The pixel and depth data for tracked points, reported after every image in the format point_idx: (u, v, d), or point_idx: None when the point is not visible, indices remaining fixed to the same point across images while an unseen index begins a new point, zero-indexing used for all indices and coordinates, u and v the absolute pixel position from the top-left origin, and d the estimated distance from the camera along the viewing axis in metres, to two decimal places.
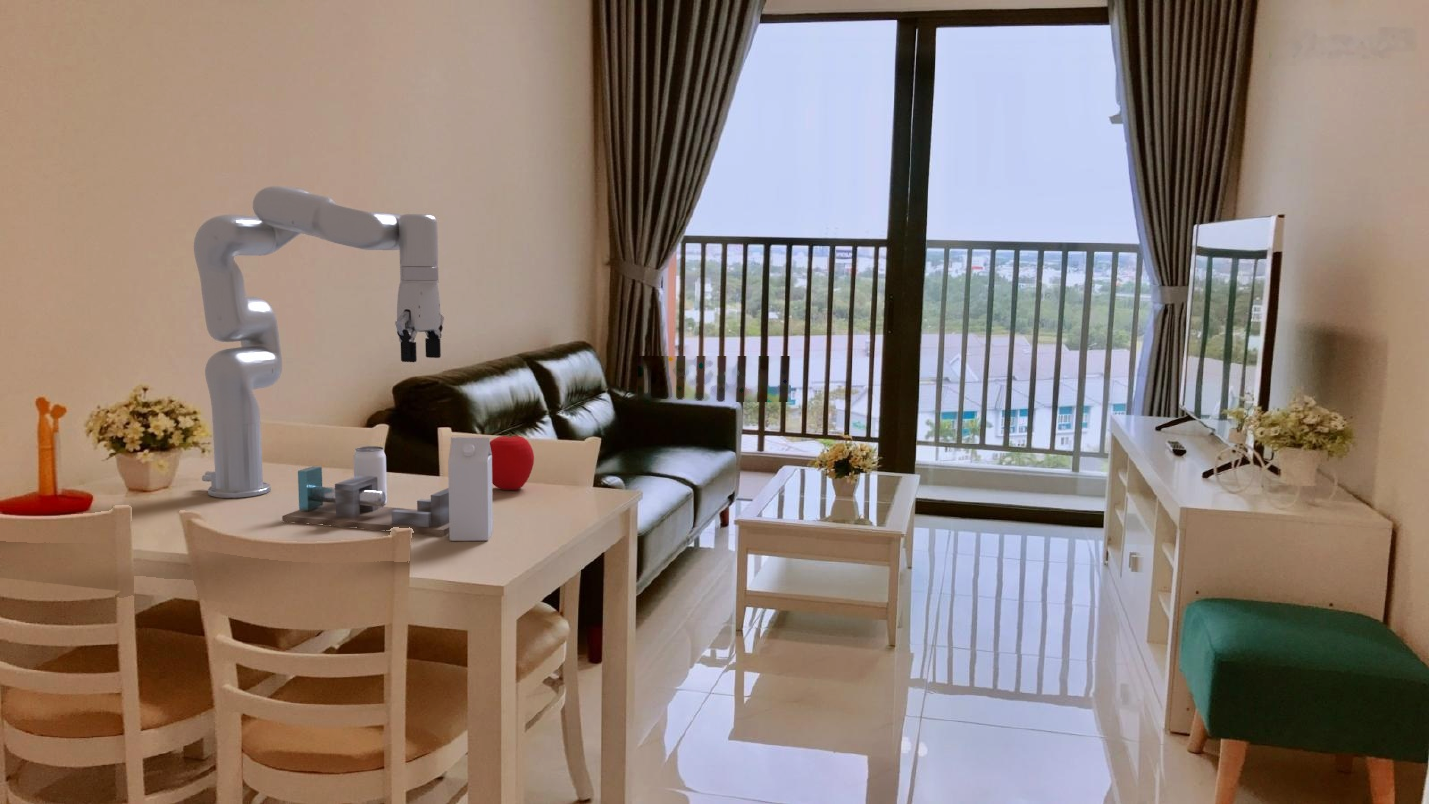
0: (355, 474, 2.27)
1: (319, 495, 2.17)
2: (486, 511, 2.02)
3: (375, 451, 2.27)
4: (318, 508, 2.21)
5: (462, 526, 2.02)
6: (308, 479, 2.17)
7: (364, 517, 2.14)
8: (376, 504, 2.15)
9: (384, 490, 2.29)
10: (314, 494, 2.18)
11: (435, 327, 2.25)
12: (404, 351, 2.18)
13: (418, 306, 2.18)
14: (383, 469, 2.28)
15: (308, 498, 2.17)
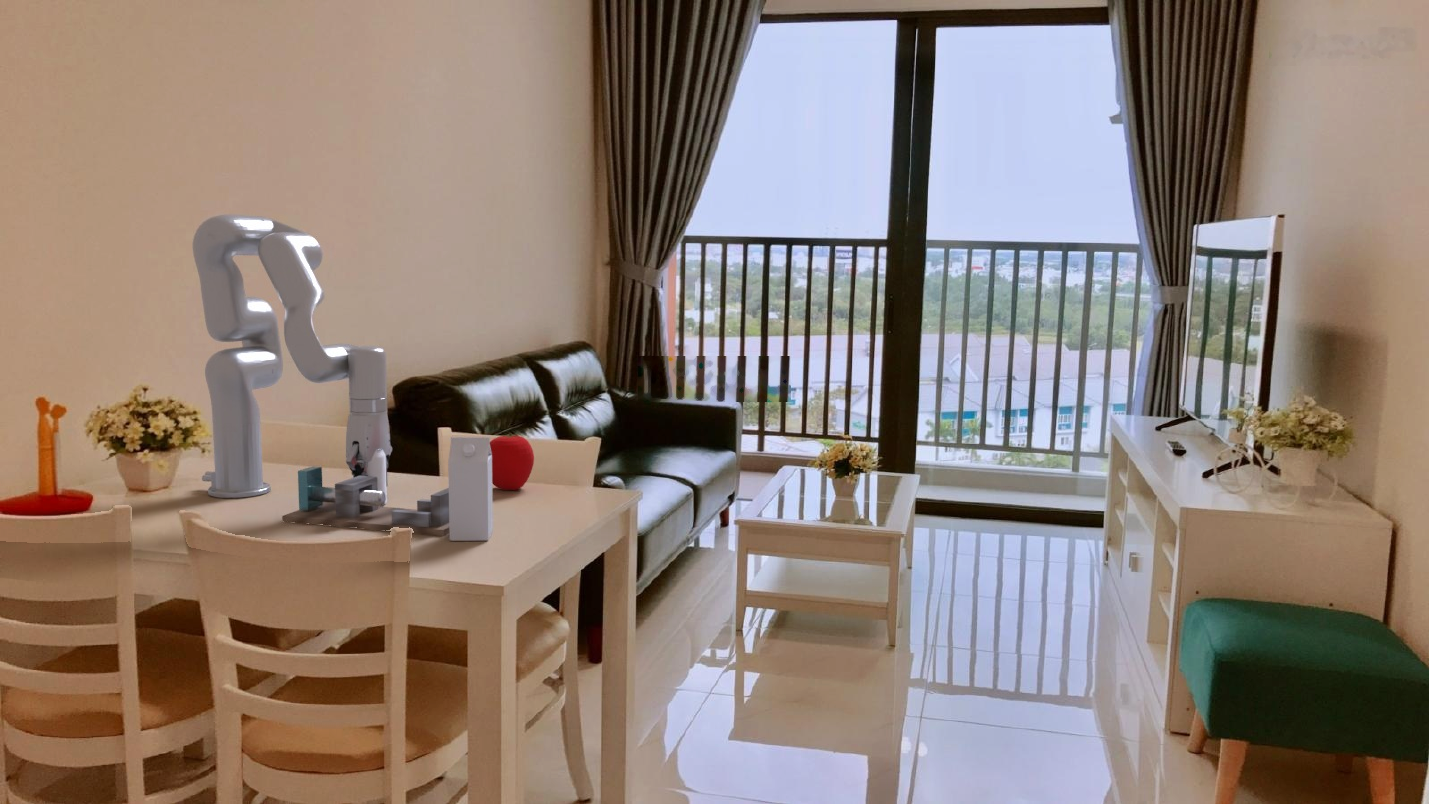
0: None
1: (319, 495, 2.17)
2: (486, 511, 2.02)
3: (375, 451, 2.27)
4: (318, 508, 2.21)
5: (462, 526, 2.02)
6: (308, 479, 2.17)
7: (364, 517, 2.14)
8: (376, 504, 2.15)
9: (384, 490, 2.29)
10: (314, 494, 2.18)
11: None
12: None
13: (366, 438, 2.24)
14: (383, 469, 2.28)
15: (308, 498, 2.17)
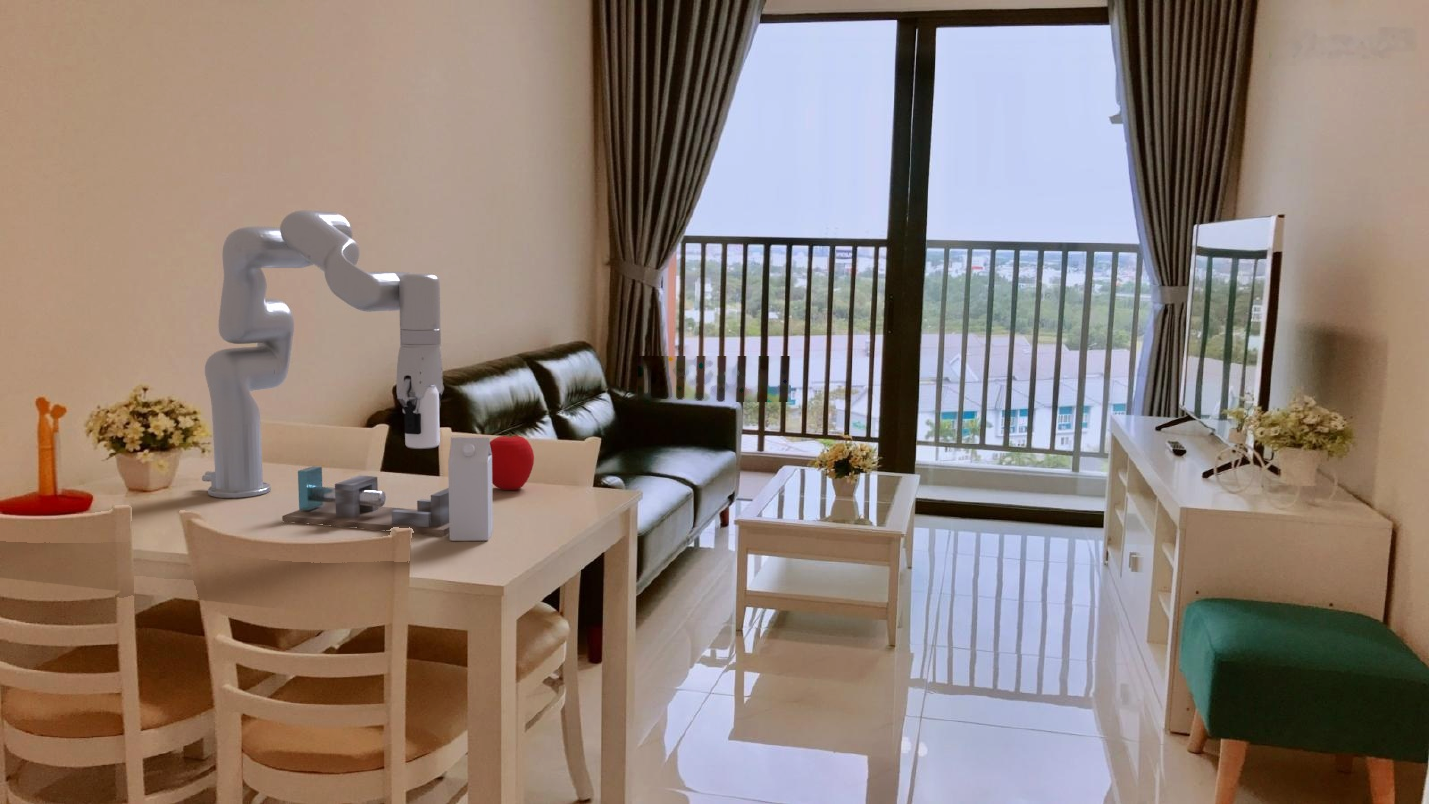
0: None
1: (319, 495, 2.17)
2: (486, 511, 2.02)
3: (428, 387, 2.08)
4: (318, 508, 2.21)
5: (462, 526, 2.02)
6: (308, 479, 2.17)
7: (364, 517, 2.14)
8: (376, 504, 2.15)
9: (437, 430, 2.11)
10: (314, 494, 2.18)
11: None
12: (408, 423, 2.07)
13: (419, 372, 2.05)
14: (436, 407, 2.10)
15: (308, 498, 2.17)
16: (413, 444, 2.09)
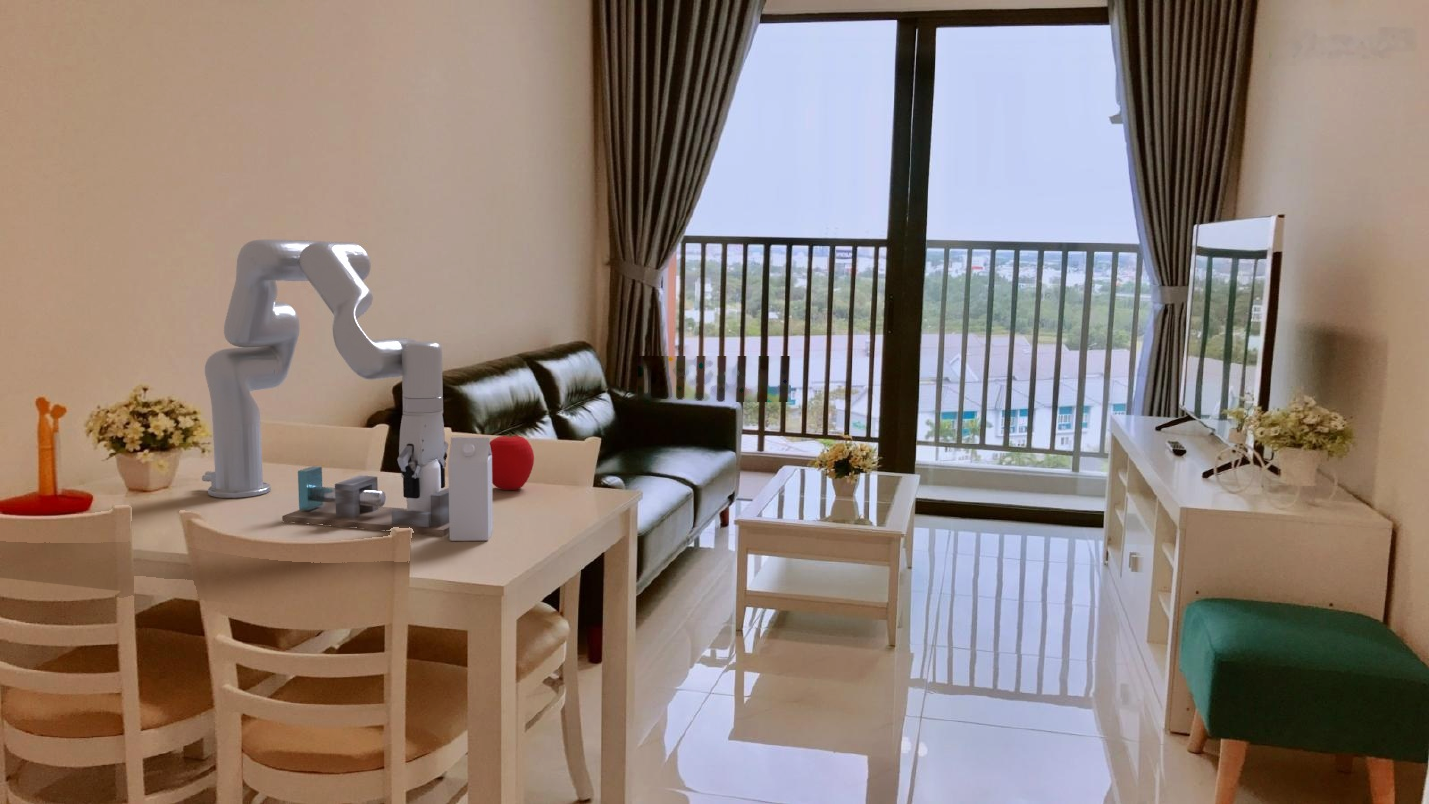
0: None
1: (319, 495, 2.17)
2: (486, 511, 2.02)
3: (430, 461, 2.10)
4: (318, 508, 2.21)
5: (462, 526, 2.02)
6: (308, 479, 2.17)
7: (364, 517, 2.14)
8: (376, 504, 2.15)
9: None
10: (314, 494, 2.18)
11: (439, 458, 2.14)
12: (407, 487, 2.07)
13: (421, 440, 2.07)
14: (438, 481, 2.12)
15: (308, 498, 2.17)
16: None
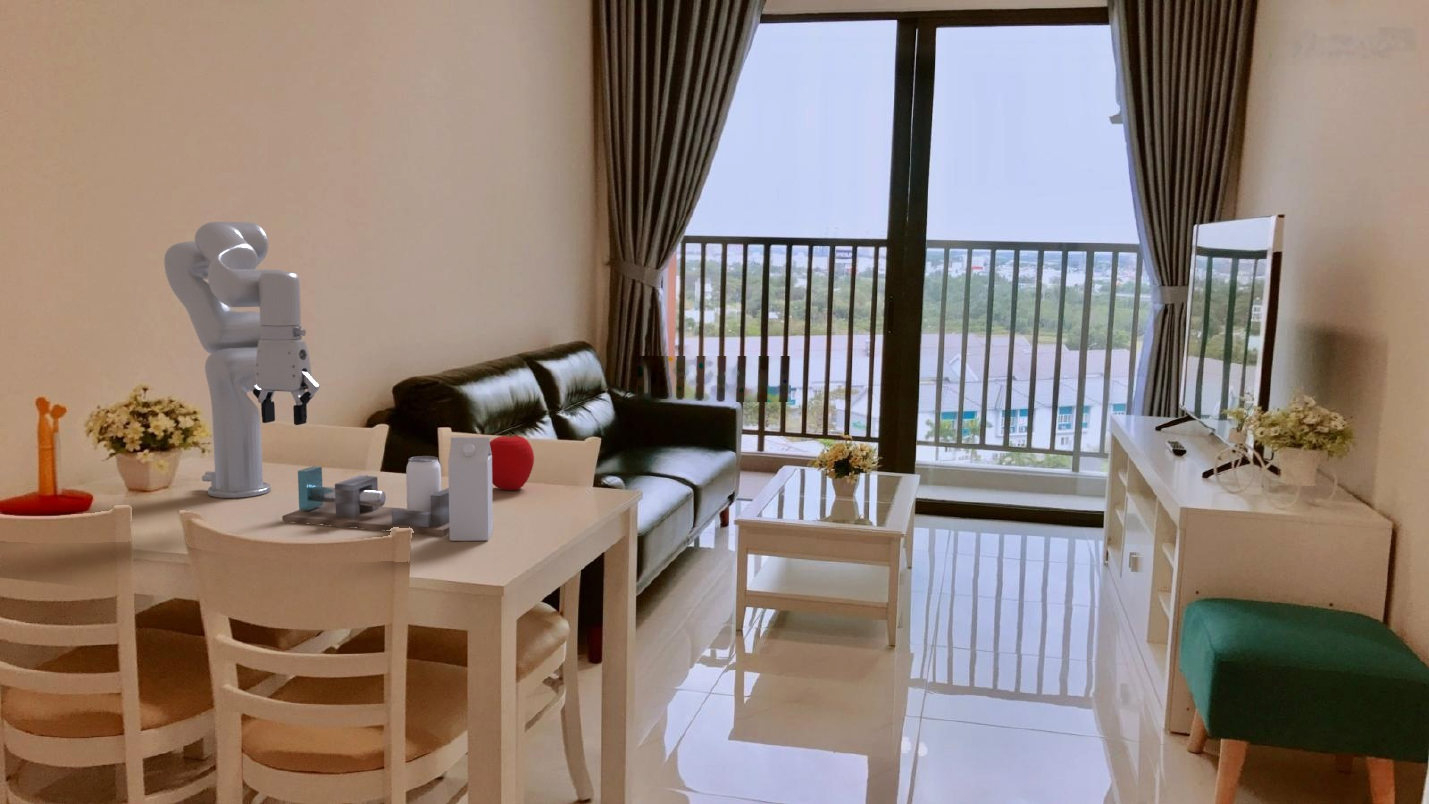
0: (408, 486, 2.11)
1: (319, 495, 2.17)
2: (486, 511, 2.02)
3: (430, 461, 2.10)
4: (318, 508, 2.21)
5: (462, 526, 2.02)
6: (308, 479, 2.17)
7: (364, 517, 2.14)
8: (376, 504, 2.15)
9: None
10: (314, 494, 2.18)
11: (287, 388, 2.16)
12: None
13: (256, 364, 2.17)
14: (438, 481, 2.12)
15: (308, 498, 2.17)
16: None
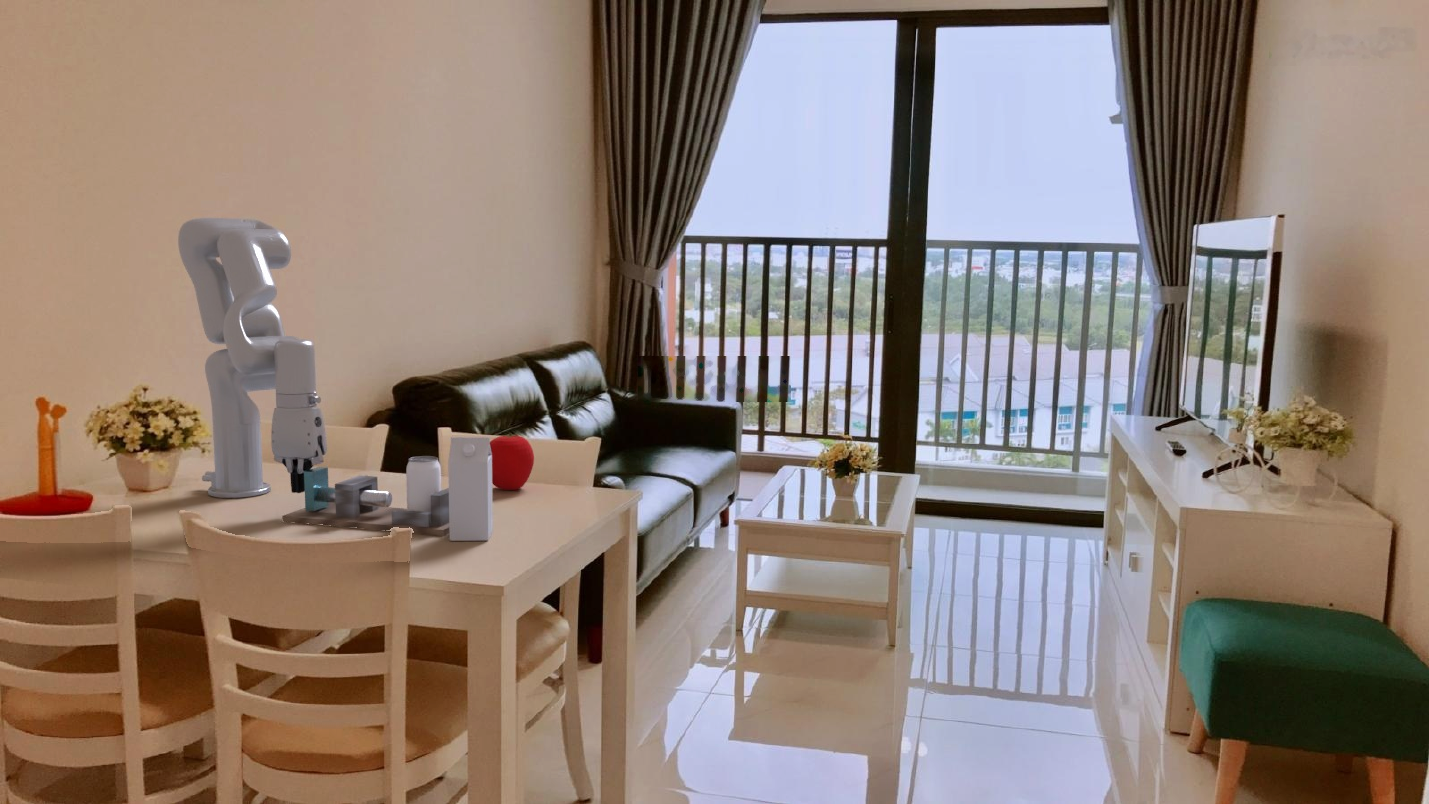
0: (408, 486, 2.11)
1: (325, 495, 2.17)
2: (486, 511, 2.02)
3: (430, 461, 2.10)
4: None
5: (462, 526, 2.02)
6: (314, 479, 2.17)
7: (364, 517, 2.14)
8: (382, 505, 2.14)
9: None
10: (320, 495, 2.17)
11: (302, 456, 2.17)
12: None
13: (272, 431, 2.18)
14: (438, 481, 2.12)
15: (314, 499, 2.17)
16: None
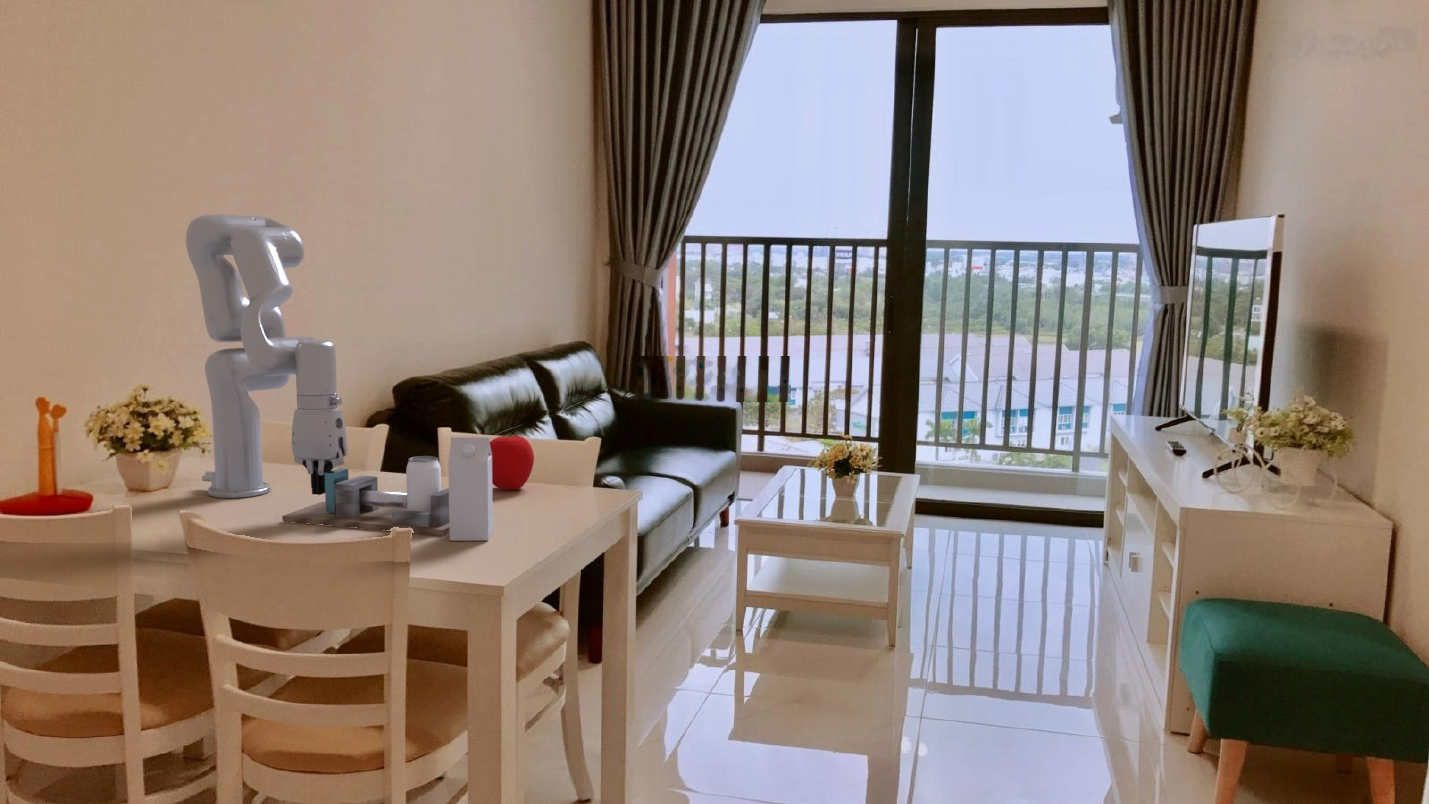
0: (408, 486, 2.11)
1: None
2: (486, 511, 2.02)
3: (430, 461, 2.10)
4: (318, 508, 2.21)
5: (462, 526, 2.02)
6: (334, 481, 2.15)
7: (364, 517, 2.14)
8: (404, 506, 2.13)
9: None
10: None
11: (323, 457, 2.15)
12: None
13: (292, 432, 2.16)
14: (438, 481, 2.12)
15: None
16: None
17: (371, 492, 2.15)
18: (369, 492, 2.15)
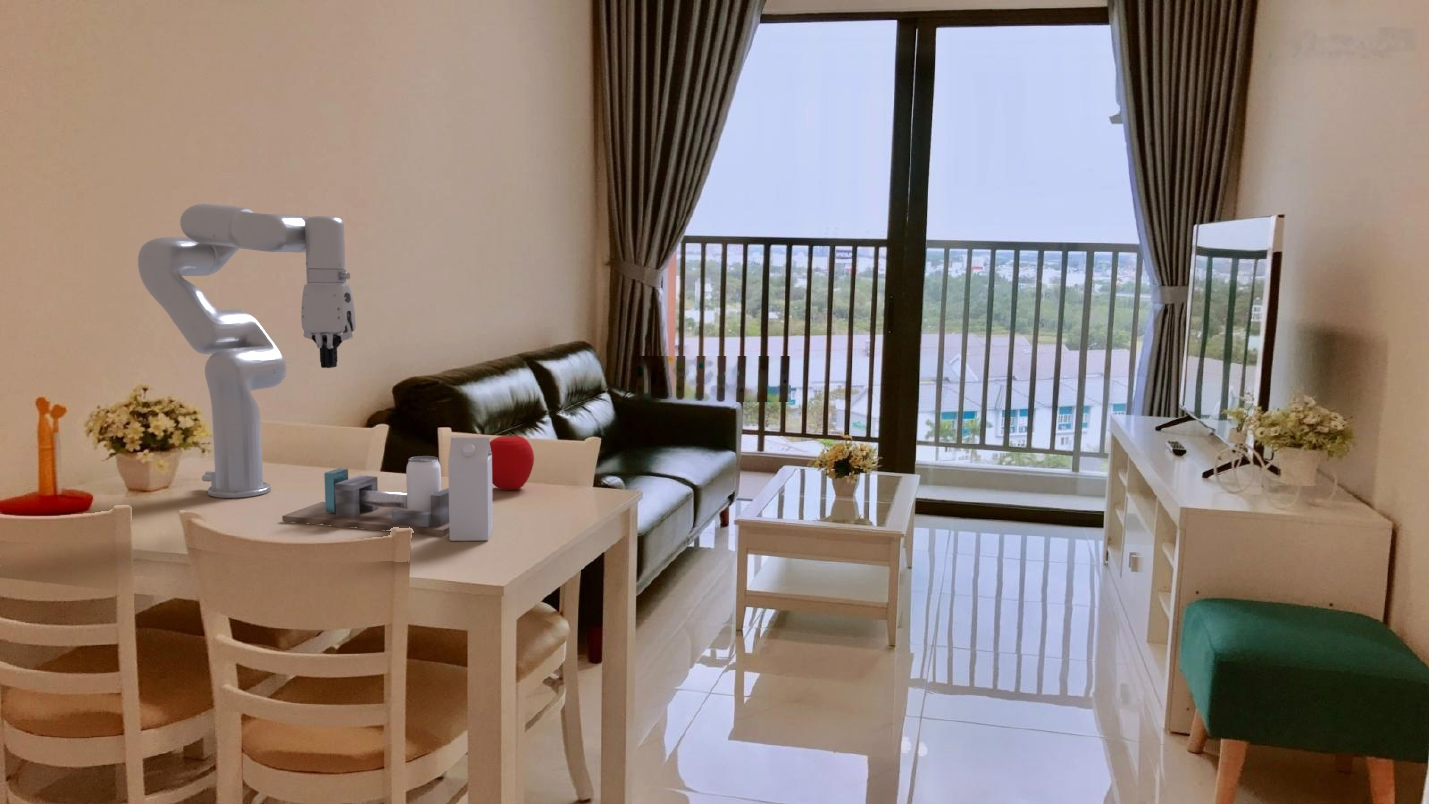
0: (408, 486, 2.11)
1: None
2: (486, 511, 2.02)
3: (430, 461, 2.10)
4: (318, 508, 2.21)
5: (462, 526, 2.02)
6: (334, 481, 2.15)
7: (364, 517, 2.14)
8: (403, 506, 2.13)
9: None
10: None
11: (332, 330, 2.22)
12: None
13: (302, 306, 2.23)
14: (438, 481, 2.12)
15: None
16: None
17: (371, 492, 2.15)
18: (369, 492, 2.15)
